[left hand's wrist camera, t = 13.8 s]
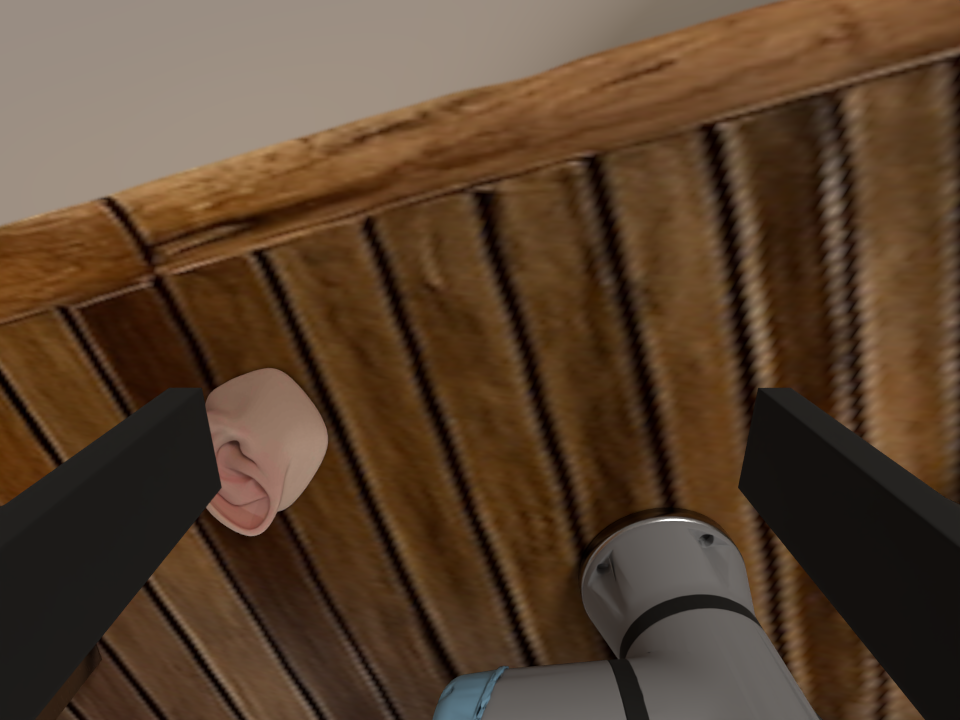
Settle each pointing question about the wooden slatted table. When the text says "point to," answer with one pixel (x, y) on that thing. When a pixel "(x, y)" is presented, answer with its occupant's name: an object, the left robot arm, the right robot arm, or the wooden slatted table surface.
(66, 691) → the block
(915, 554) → the left robot arm
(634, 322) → the wooden slatted table surface
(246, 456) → the anatomical model
